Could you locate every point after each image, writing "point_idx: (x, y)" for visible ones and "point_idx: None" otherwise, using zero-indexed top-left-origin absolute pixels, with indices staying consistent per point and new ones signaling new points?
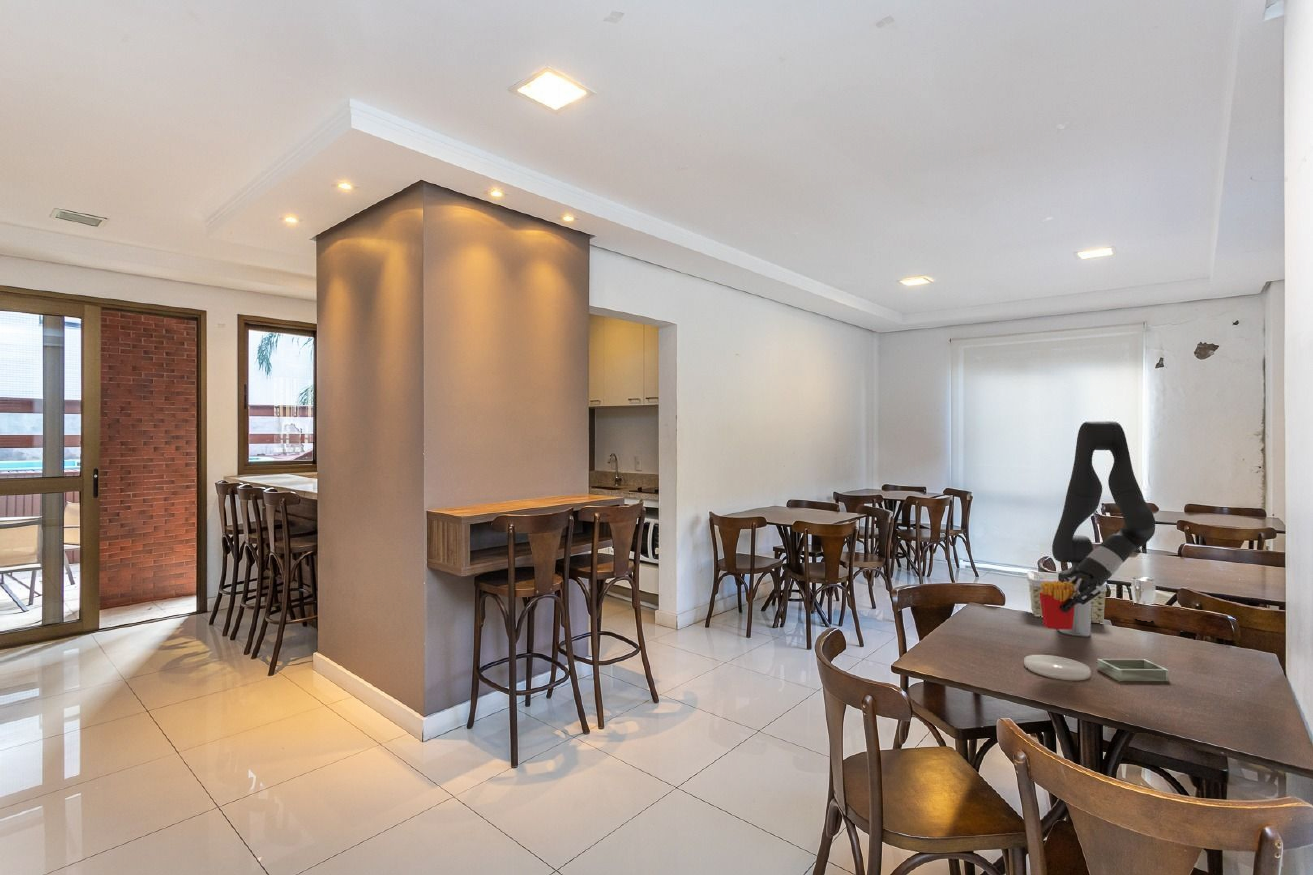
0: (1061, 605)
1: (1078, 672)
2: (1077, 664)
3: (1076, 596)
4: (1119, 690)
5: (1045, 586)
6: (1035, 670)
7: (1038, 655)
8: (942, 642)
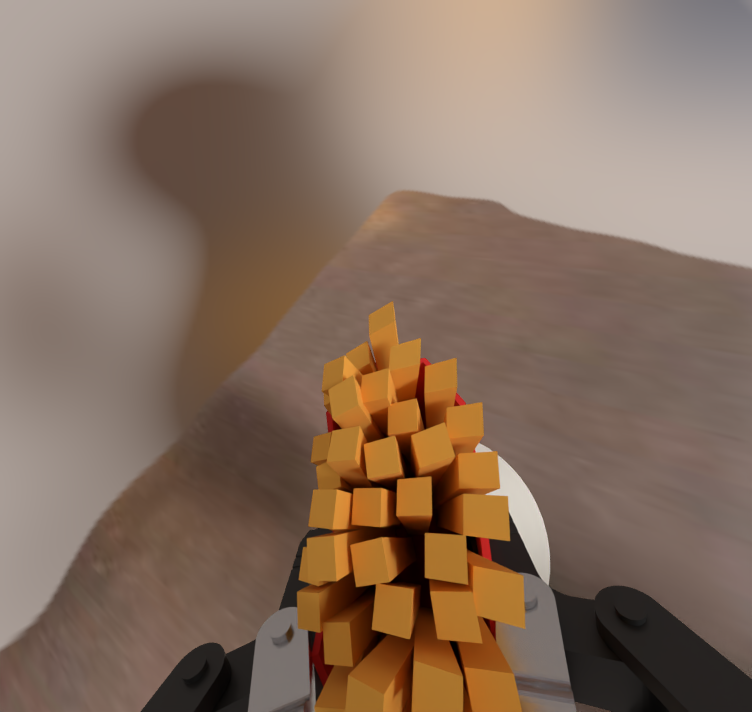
0: None
1: None
2: None
3: (201, 662)
4: None
5: (362, 355)
6: None
7: (529, 509)
8: (617, 262)
